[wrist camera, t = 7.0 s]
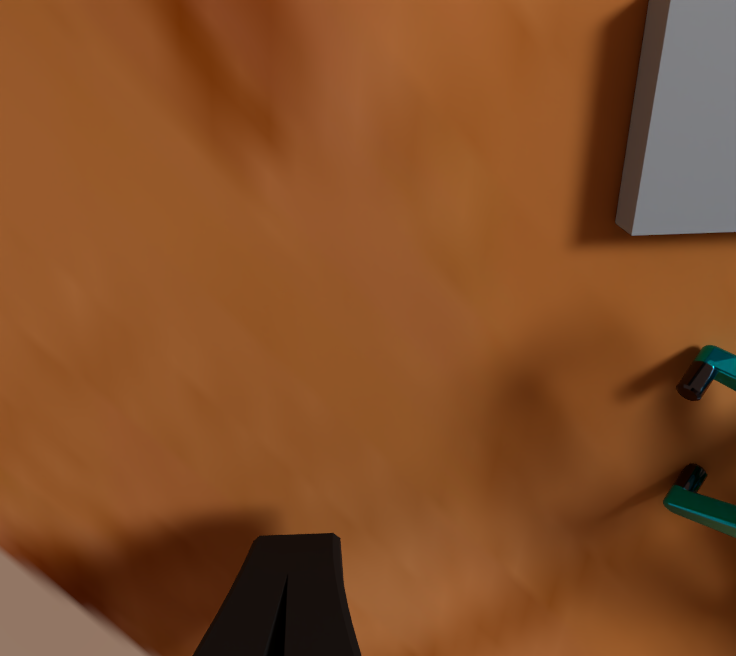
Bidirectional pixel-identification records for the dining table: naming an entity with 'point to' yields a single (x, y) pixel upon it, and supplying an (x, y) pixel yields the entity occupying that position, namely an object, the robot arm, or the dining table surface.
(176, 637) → the dining table surface
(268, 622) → the robot arm
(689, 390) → the stick construction toy
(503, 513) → the dining table surface
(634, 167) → the track tiles
